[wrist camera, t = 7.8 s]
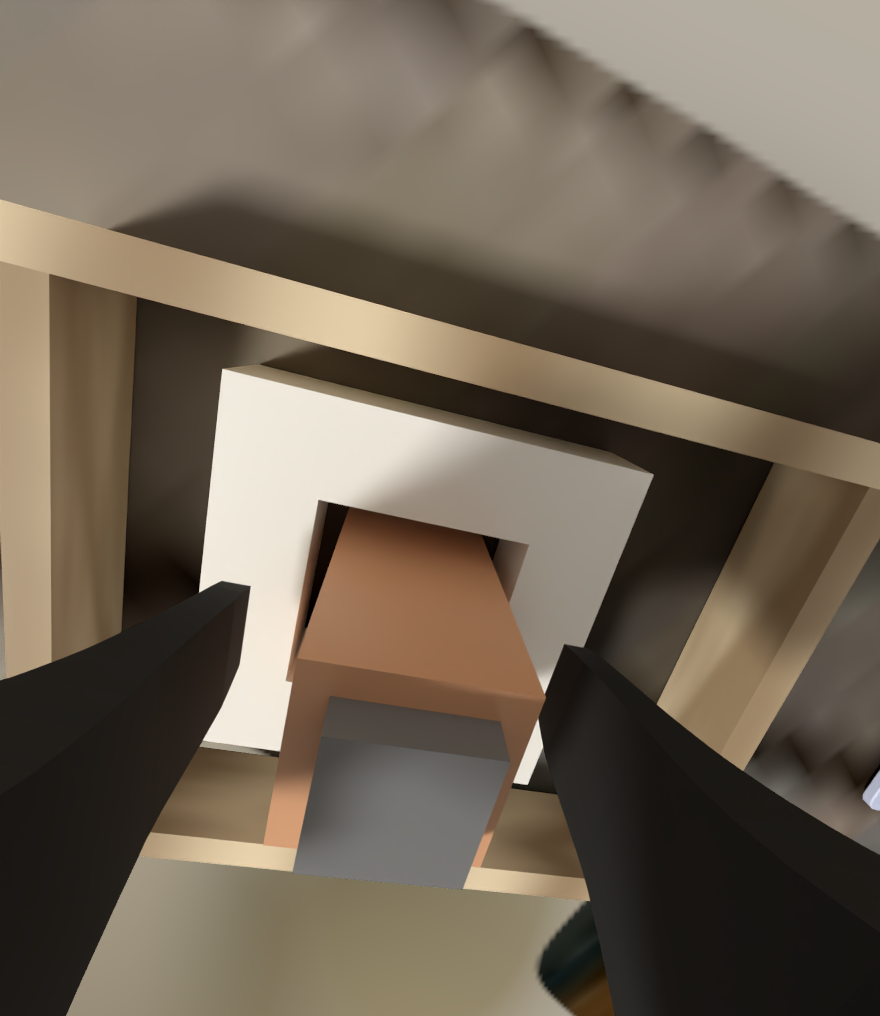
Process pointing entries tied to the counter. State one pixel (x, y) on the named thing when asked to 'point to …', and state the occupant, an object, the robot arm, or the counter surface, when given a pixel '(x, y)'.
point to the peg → (403, 709)
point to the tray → (389, 490)
